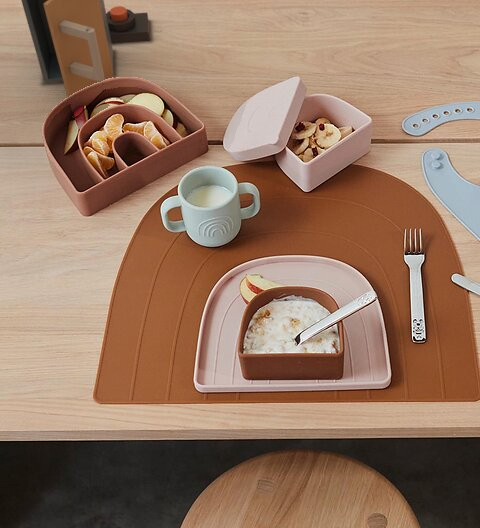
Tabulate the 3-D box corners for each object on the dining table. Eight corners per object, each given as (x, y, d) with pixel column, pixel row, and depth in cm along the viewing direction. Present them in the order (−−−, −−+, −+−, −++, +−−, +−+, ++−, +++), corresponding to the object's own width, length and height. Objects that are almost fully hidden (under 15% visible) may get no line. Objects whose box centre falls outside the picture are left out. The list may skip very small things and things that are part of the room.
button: (111, 23, 155) (109, 15, 154) (111, 14, 157) (109, 6, 156) (127, 21, 155) (126, 14, 154) (127, 13, 158) (126, 5, 156)
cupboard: (113, 78, 149) (91, -36, 130) (44, 83, 147) (12, -31, 129) (113, 51, 155) (92, -61, 136) (47, 56, 153) (16, -57, 135)
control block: (94, 45, 156) (91, 28, 153) (95, 25, 161) (91, 8, 158) (149, 41, 157) (147, 24, 154) (148, 21, 162) (146, 4, 159)
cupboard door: (143, 88, 146) (125, -24, 128) (105, 128, 138) (80, 14, 120) (111, 79, 148) (89, -33, 130) (72, 117, 140) (43, 3, 122)
